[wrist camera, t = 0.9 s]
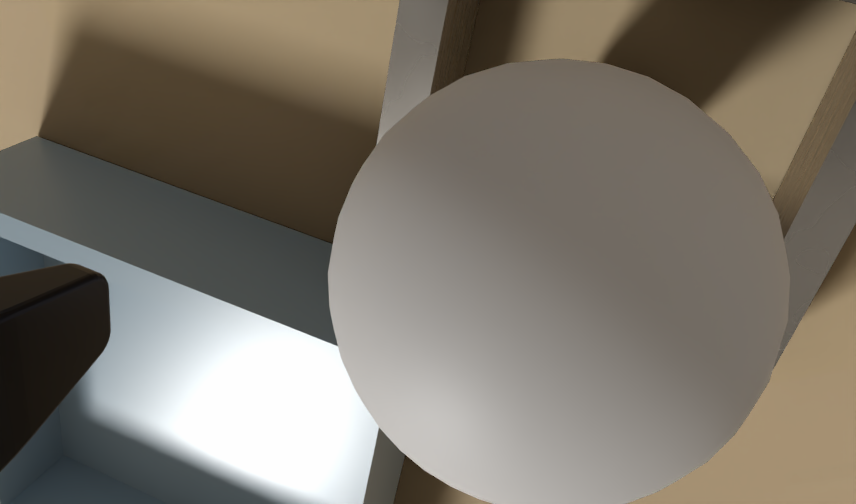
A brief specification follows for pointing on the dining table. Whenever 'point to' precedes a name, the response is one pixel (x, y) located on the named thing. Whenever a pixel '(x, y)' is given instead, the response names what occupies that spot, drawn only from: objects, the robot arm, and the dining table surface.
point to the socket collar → (794, 201)
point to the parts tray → (187, 349)
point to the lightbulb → (558, 284)
